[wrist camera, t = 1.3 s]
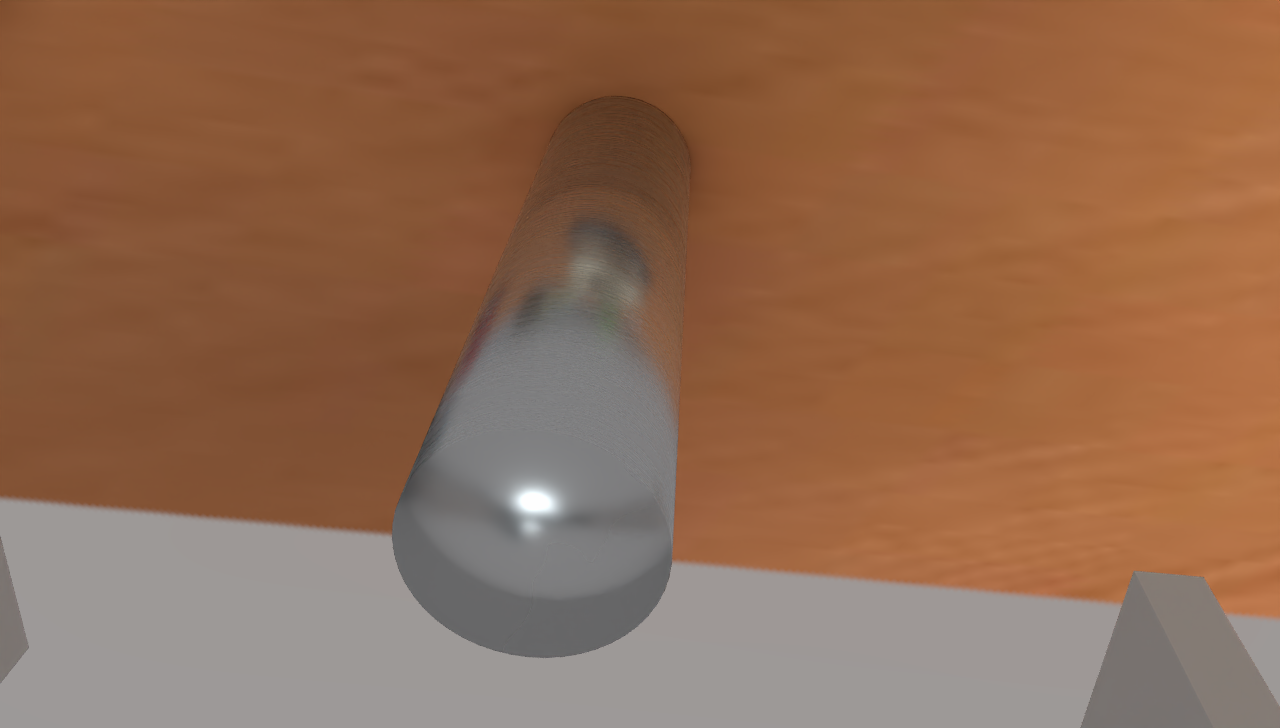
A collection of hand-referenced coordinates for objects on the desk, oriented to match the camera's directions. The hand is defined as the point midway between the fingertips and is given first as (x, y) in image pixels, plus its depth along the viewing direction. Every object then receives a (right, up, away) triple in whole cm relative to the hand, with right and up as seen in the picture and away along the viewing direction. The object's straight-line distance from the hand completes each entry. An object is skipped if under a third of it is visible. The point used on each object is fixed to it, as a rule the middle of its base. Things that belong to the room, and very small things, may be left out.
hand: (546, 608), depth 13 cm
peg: (+1, +8, +14) cm, 16 cm away
